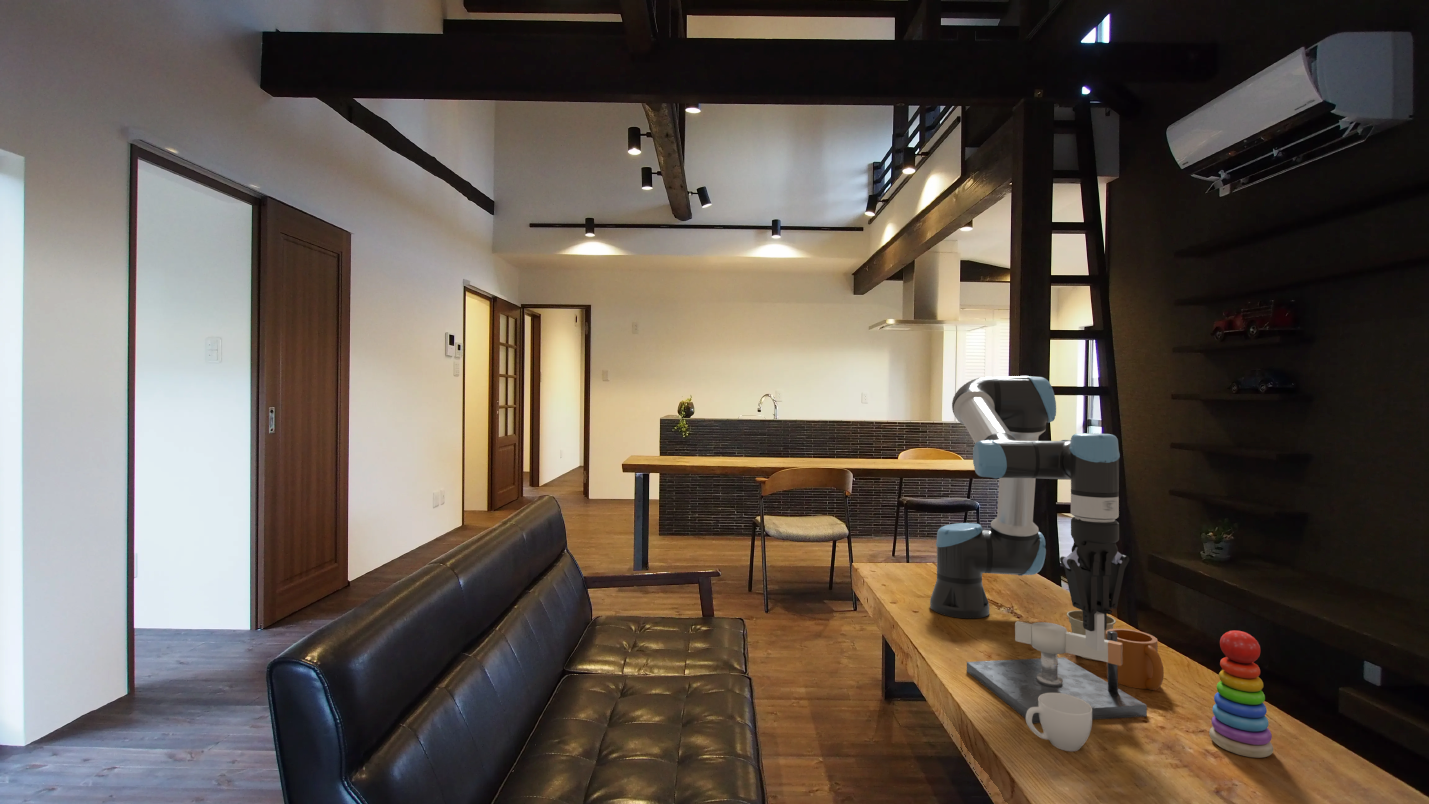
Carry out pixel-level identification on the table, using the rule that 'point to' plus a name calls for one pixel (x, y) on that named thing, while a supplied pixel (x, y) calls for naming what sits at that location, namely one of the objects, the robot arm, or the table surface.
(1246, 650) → the stacking toy
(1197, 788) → the table surface
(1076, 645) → the white lever
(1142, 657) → the mug
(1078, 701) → the cup
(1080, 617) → the flower pot
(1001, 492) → the robot arm
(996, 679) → the base plate
